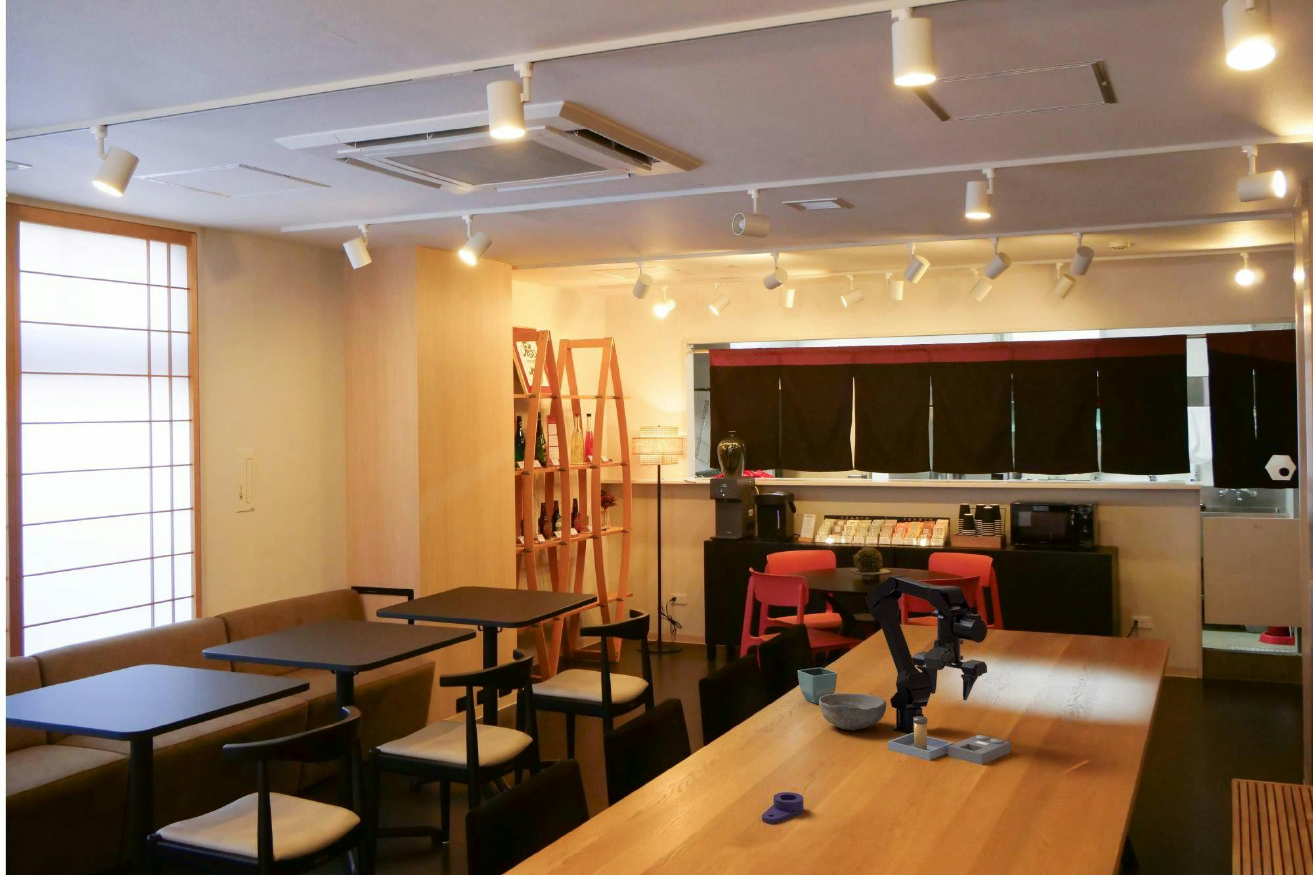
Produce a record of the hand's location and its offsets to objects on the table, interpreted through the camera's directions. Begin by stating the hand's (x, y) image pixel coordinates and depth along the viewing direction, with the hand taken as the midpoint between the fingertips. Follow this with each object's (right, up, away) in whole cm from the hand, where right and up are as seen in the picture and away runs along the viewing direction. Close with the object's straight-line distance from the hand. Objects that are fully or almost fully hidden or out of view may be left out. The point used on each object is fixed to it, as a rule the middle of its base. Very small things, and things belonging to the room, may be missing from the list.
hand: (949, 696), depth 272 cm
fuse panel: (+5, -12, -11) cm, 17 cm away
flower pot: (-27, -12, +43) cm, 52 cm away
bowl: (-22, -12, +15) cm, 29 cm away
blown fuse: (-9, -12, -7) cm, 16 cm away
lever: (-49, -13, -49) cm, 71 cm away
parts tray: (-9, -12, -7) cm, 17 cm away
